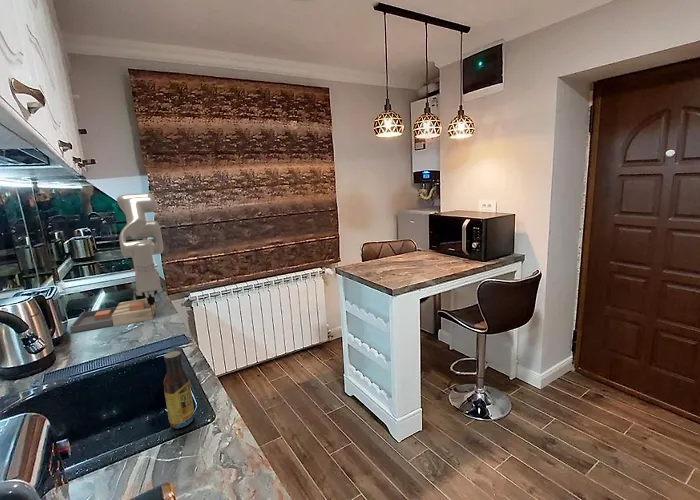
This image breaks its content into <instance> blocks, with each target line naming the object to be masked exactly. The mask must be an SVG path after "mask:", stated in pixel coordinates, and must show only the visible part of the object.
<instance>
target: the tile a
mask: <svg viewBox="0 0 700 500" xmlns="http://www.w3.org/2000/svg"><path fill="white" fill-rule="evenodd" d="M111 315H112V311H111V310H105V311H99V312H96V314H95V315H94V318H95V321H97V320H102V319H108V318H110V317H111Z"/></svg>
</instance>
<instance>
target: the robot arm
mask: <svg viewBox="0 0 700 500" xmlns="http://www.w3.org/2000/svg"><path fill="white" fill-rule="evenodd" d="M116 201H117V205H118V206H119V208H120V210H121V211H122V212H123V213H124V215H125V219H126V225H125V226H124V227H123V228H122V229H121V231H120V232H119V233H120V234H119V247H120V252H121V254H122V256H124V258H131V259H132V263H133V268H134V273H135V279H134V280H135V281H134V282H135V289H136V291H135V295H136V296H140V297H144V298H145V299H146V298H147V301H148V304H150V306H151V305H154V303H155V300H156V296H155V295H157V294H158V293H160V292H163V289H162V285H161V283H162V282H161V279H160V275H159V272H158V269H157V268H158V267H159V266H158V264H156V263H155V262H154V258H153V257H154V256H155V255H161V254H162V253H163V252H164V250H165V249H164V248H165V247H164V243H163V242H164V241H163V237H162V230H161V226H160V223H159V222H158V221H157V220H147V219H146V215H145V214H146V213H147V214H148V213H154V212H156V211H157V202H156V199H155V196H154V195H153V194H152V193H150V192H149V193H148V192H146V193H145V192H144V193H128V194H121V195H119V196H117V198H116ZM129 236H130V237H131V239H135V240H132V241H129V240H128V241H127V238H129ZM148 238H149V239H148ZM154 297H155V298H154Z"/></svg>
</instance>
